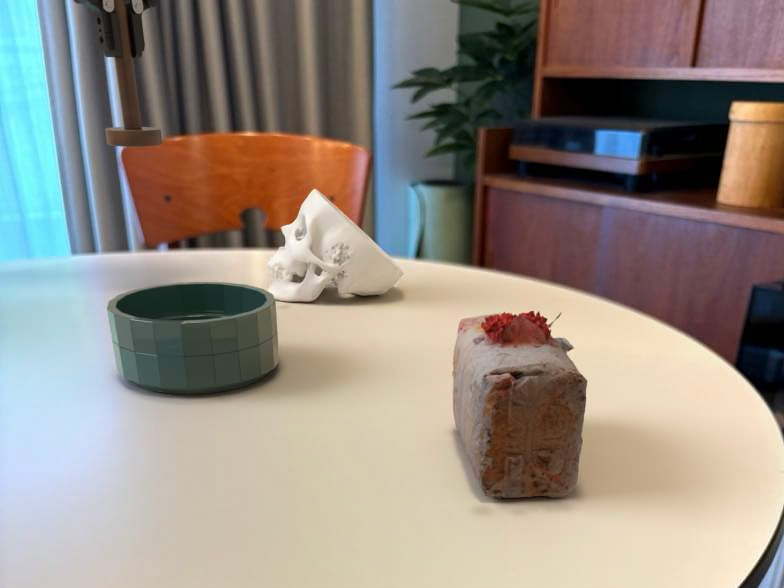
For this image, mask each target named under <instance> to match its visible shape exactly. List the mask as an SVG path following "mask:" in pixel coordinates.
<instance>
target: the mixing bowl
mask: <svg viewBox="0 0 784 588" xmlns="http://www.w3.org/2000/svg"><path fill="white" fill-rule="evenodd" d="M276 301H277V300H276V299H275V298H274V296H273V294H272V293H270V292H268V290H266V289H264V288H262V287H257V286H253V285H249V284H243V283H237V282H236V283H234V282H225V281H185V282H184V281H183V282H172V283H163V284H155V285H150V286H145V287H140V288H135V289H131V290H128V291H125V292H123V293H120V294H118V295H116V296H115V297H113V298H112V299H110V300H109V301H108V302H107V306H106V312H107V318H108V323H109V329H110V335H111V341H112V348H113V354H114V360H115V366H116V371H117V372H118V373H119V374H120V375H121V376H122V377H123V378H124V379H126V380H128V381H131V382H133V383H134V384H135V385H137V386H138V387H141V388H143V389H146V390H149V391H153V392H158V393H164V394H165V393H166V394H175V395H201V394H211V393H219V392H226V391H230V390H235V389H239V388H242V387H246V386H249V385H251V384H253V383H256V382H258V381H259V380H261V379H263V378H265V376H266V375H267V373H269V372H270V371H272V370H274V369H275V368H276V366H277V364H279V362H280V351H279V350H280V348H279V335H278V333H279V332H278V319H277V318H278V317H277V302H276Z"/></svg>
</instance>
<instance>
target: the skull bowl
mask: <svg viewBox="0 0 784 588" xmlns="http://www.w3.org/2000/svg"><path fill="white" fill-rule="evenodd" d="M280 229H281V233H282V235H283V236H284V239H285V240H284V241H285V242H284V246H279V247H278V249H277V252H276V253H275V254H273V255H272V256H271V257H270V258H269V259H268V260H267V262H266V267H267V268H269V274H270V277H271V282H270V284H269V286H268V289H267V291H268V292H270V293H272V294H273V296H274V298H275V301H281V302H306V303H307V302H313V301H315V300H317V299H318V297H319V296H320V295H321V294H322V293H323V290H324V289H325V288H329V287H330V286H331V285H333V284H334V285H335V286H336V287H337V293H338V294H339V295H347V294H352V295H357V296H376V295H384V294H386V293H387V292H388V291H389V290H390V289H391V288H392V287H394V286H395V285H396V284H397V283H398V282H399V280H401V278H402V277H403V275H404V274H405V272H404V270H403V269H402V268H401V267H400V266H399V265H398V263H396V262H395V260H393V258H391V256H390V255H389V254H388V253H387V252H386V251H385V250H383V249H382V248H381V247H380V246H379V245H378V244H377V243H376V242H375V241H374V240H373V239H372V238H371V237H370V236H369V235H368V234H367V233H366V232H364V231H363V230H362V229H361V228H360V227H359V226H358V225H357V224H356V223H355V222H354V221H353V220H352V219H350V217H348V216H347V215H346V214H345V213H344V212H343V211H342V210H341V209H339V207H337V205H335V204H334V203H333V202H332V201H331V200H330V199H329V198H327V197H326V196H325V195H324V194H323V193H322V192H320V191H319V190H318V189H317V188H313V189H312V191H310V193H309V194H308V196H307V197H306V198H305V199H304V201H303V202H302V204H301V206H300V209H299V211H298V214H297V217H296V218H295V220H294V221H293V222H292V223H288V224H286V225H283V226H282V225H281V227H280ZM323 272H324V273H326V274H323V275H322V273H323Z"/></svg>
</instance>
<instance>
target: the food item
mask: <svg viewBox="0 0 784 588" xmlns="http://www.w3.org/2000/svg"><path fill="white" fill-rule="evenodd" d="M561 316H562V311H561V312H559V314H558V315H556V317H555V319H554V320H553V321H552V322H551V323H549V324H548V323H547V322H548V318H547V317H545V316H544V315H542V316H541V313H540V310H538V311H537V312H536V314H535V310H529V312H521V313H518V314H515V313H514V314H512V312H506V311H503V312H502V313H500V312H498V313H497V312H496V313H490V314H482V315H477V316H472V317H464V318H462V319H461V318H460V321H459V324H458V327H457V334H456V340H455V344H454V350H453V357H452V380H453V381H452V411H453V418H454V419H453V420H454V424H455V427H456V430H457V432H458V434H459V437H460V439H461V441H462V445H463V448H464V452H465V455H466V457H467V460H468V462H469V464H470V466H471V468H472V471H473V473H474V475H475V478H476V481H477V483H478V485H479V487H480V488H481V490H482V491H483V495H484V497H485V496H486V497H493V498H497V499H499V500H502V499H503V498H506V499H515V498H523V497H524V498H530V497H541V496H542V497H548V498H562V497H566V496H568V495H570V494H571V493H572V491H573V489H574V487H575V486H576V485H577V481H578V478H579V471H580V469H579V465H580V464H579V463H580V456H581V454H582V449H583V434H582V433H583V428H584V421H585V413H586V406H587V388H588V382H589V381H588V379H587V378H586V377H585V376H584V375H583V374H582V373H580V371H579V370H578V368H577V366H576V364H575V362H574V361H573V360H572V359H571V357H570V356H569V355H568V354H567V353H568V352H571V351H572V350H574V349H575V347H574V345H573V344H572V343H571V342H570V341H569V340H568V339H567V338H565V337H553V336H552V335H551V334H552V329H551V327H552V326H553V324H554V323H555V321H557V320H558V319H559V318H560V317H561Z"/></svg>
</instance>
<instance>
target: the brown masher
mask: <svg viewBox="0 0 784 588" xmlns="http://www.w3.org/2000/svg"><path fill="white" fill-rule="evenodd" d="M113 14H117V19H118V27H119V34H120V42H121V49H122V56H121V57H113V59H114V64H115V72H116V79H117V86H118V87H117V88H118V94H119V102H120V108H121V116H122V123H123V126H114V127H106V128H105V129H104V131H105V137H106V144H107V145H108V146H111V147H131V148H132V147H134V148H135V147H136V148H138V147H141V148H143V147H156V146H161V145H163V138H162V137H163V136H162V130H161V128H159V127H152V126H142V120H141V119H142V118H141V112H140V102H139V94H138V88H137V87H138V85H137V80H136V71H135V64H134V58H133V55H132V47H131V39H130V31H129V23H128V16H127V8H126V0H114V10H113Z"/></svg>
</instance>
